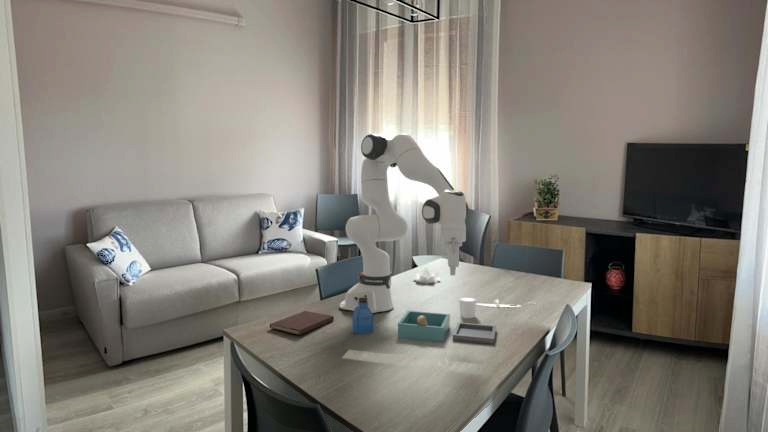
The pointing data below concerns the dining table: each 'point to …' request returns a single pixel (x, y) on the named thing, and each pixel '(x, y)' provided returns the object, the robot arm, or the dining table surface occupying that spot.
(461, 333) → the charcoal tray
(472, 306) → the white cylinder
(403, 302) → the dining table surface
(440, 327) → the shallow teal crate
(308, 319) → the notebook
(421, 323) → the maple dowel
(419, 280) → the lotus flower
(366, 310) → the perfume bottle
